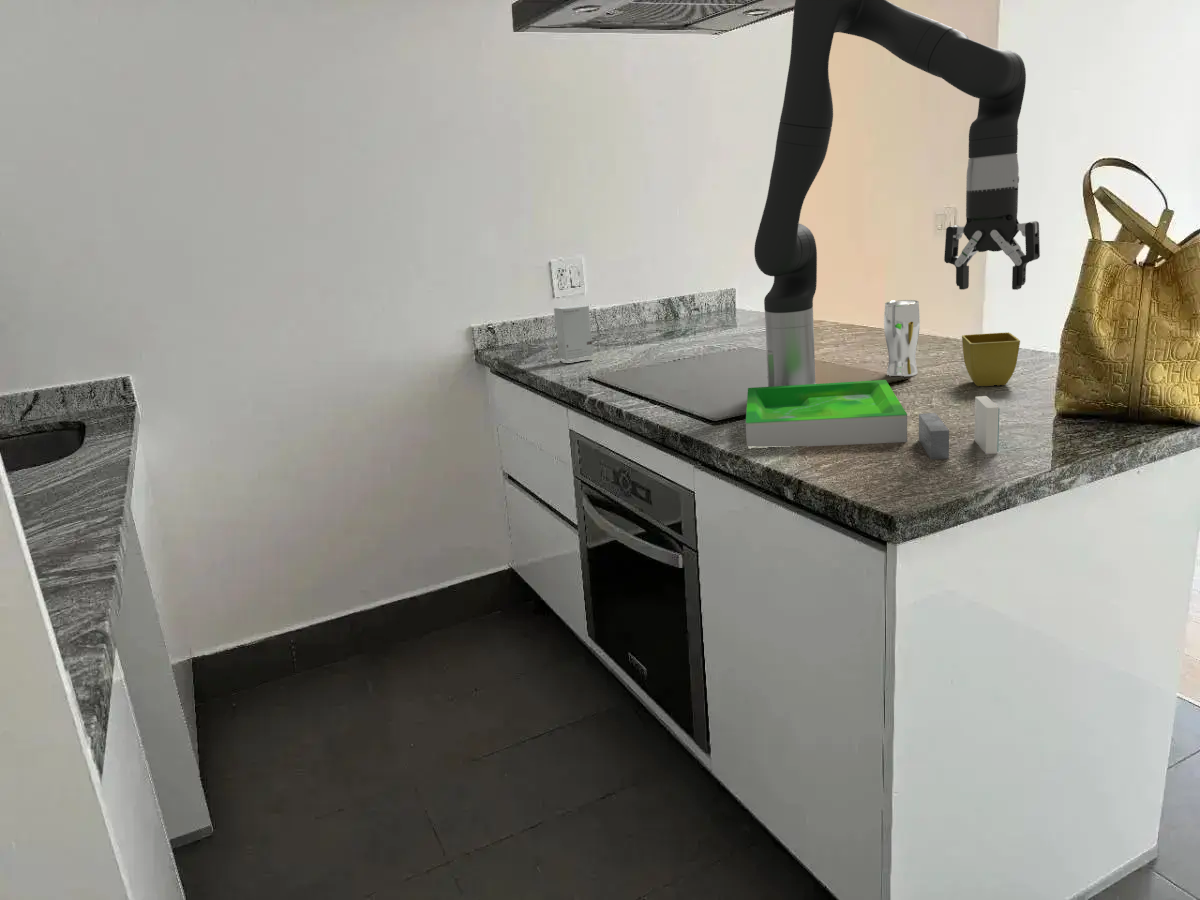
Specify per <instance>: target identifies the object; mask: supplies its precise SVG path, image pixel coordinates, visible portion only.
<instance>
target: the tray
mask: <svg viewBox="0 0 1200 900" xmlns="http://www.w3.org/2000/svg"><path fill="white" fill-rule="evenodd" d="M746 394H747V395H746V396H747V397H746V412H745V413H746V414H745V436H746V437H745V438H746V447H747V446H807V447H823V446H824V447H825V446H846V445H848V446H849V445H868V444H891V443H908V413H907V412H906V410H905V408H904V407H903V405H902V404H901V402H900V400H899V399H898V397H897V395H896V394H895V393H894V391H893V388H892V387H891V386H890V385H889V383H888V381H887V380H886V379H878V380H877V379H876V380H875V379H874V380H860V381H859V380H858V381H843V382H841V381H840V382H825V383H816V384H806V385H789V386H772V387H768V386H756V387H748V388H747V393H746Z"/></svg>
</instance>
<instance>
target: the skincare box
mask: <svg viewBox="0 0 1200 900" xmlns="http://www.w3.org/2000/svg"><path fill="white" fill-rule="evenodd" d="M553 312H554V323H555V331H556V342H557V352H558V359H559V358H562V359H565V360H568V359H574V358H579V357H584V356H591V355H593V356H594V353H593V340H592V329H591V316H590V307H589V305H585V304H578V305H567V306H560V307H554V308H553Z"/></svg>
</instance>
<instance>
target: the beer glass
mask: <svg viewBox="0 0 1200 900" xmlns="http://www.w3.org/2000/svg"><path fill="white" fill-rule="evenodd" d="M919 303H920V302H919V300H917V299H916V300H914V299H899V300H891V301H887V302H885V303H884V315H883V331H884V336H885V337H884V338H885V344H886V348H887V353H888V363H887V364H888V365H887V369H886V375H887V376H888V375H889V376H888V377H891V376H904V377H903V378H910V377H914V376H916V375H918V366H917V362H916V361H917V360H916V359H917V358H916V355H917V354H916V353H917V345H918V341H919V337H920V329H921V328H920V327H921V326H920V324H921V319H920V317H921V316H920V314H921V313H920V305H919Z"/></svg>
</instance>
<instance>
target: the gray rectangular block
mask: <svg viewBox="0 0 1200 900" xmlns="http://www.w3.org/2000/svg"><path fill="white" fill-rule="evenodd" d="M949 429H950V428H948V427H947V426H946V424H945V422H943V420H942V419H941V418H940V417H939V416H938V414H937V413H936V412H926V413H924V412H923V413H918V441H919V443H920V445H921V446H922V447H923V450H924V451H925V453H926V454H927V456H928V458H929V459H930V460H947V459H948V460H949V459H950V430H949Z"/></svg>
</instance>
